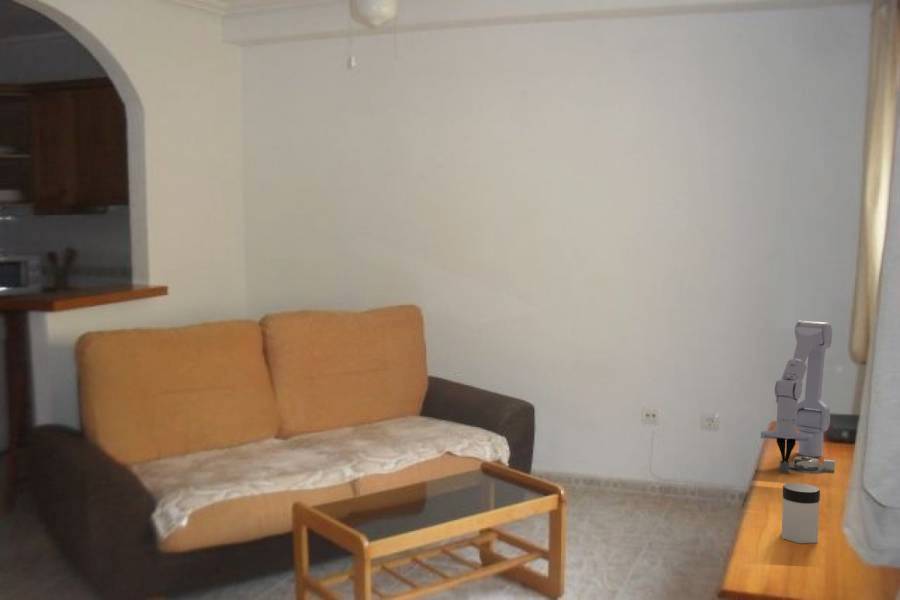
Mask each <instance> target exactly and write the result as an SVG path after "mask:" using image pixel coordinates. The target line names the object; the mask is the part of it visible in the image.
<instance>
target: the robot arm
mask: <svg viewBox="0 0 900 600" xmlns="http://www.w3.org/2000/svg"><path fill="white" fill-rule="evenodd" d="M794 335H795V340H796V345H795V349H794V353H793V357H792V358H791V359H789V360H788V361H787V363H786V366H785V368H784V370H783V373H782V375H781V378H780V379H778V380H776V382H775V384H774V385H775V386H774V395H775V403H776V404H777V411H776V429H775V430H774V431H773V430H771V431H770V430H769V431H767V430H761V431H760V439H772V440H776V444H777V446H778V449H779V451H780V455H781V461H789V460H790V456H791V453H792V451H793V450H794V448H795V445H796V442H798V451H796V454H799V455H801V456H807V457H811V458H817V457H823V455H824V453H823V451H824V450H823V449H824V448H823V447H824V432H826V431H827V430H828V429H829V428H830V424H831V415H830V413H831V412H830V407H829V406H828V405H827V404H826V403H825V402H824V401H823V400H822V391H823V379H824V377H823V376H824V365H825V357H826V356H825V354H826V350H827V349H829V348H831V345H832V339H833V338H832V337H833V328H832V325H831V324H830V322H828V321H825V322H823V321H809V320H800V319H799V320H798V321H796V324H795V327H794ZM806 361H807V364H806ZM805 374H806V379H805V390H804V399H803V400H801V401H800V402H799V399H800V398H801V395H802V392H803V391H802V389H803V380H804V376H805ZM798 430H799V431H798ZM797 431H798V432H797Z"/></svg>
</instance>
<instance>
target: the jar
mask: <svg viewBox="0 0 900 600" xmlns="http://www.w3.org/2000/svg"><path fill="white" fill-rule="evenodd" d="M820 497H821V489H820V488H819V487H817V486H815V485H811V484H807V483H799V482H793V483H792V482H790V483H785V484H783V486H782V515H781V516H782V517H781V539H783V540H786V541H788V542H789V541H790V542H793V543H796V544H817V543H818V542H819V541H818V539H819V520H820V519H819V517H820V515H819V514H820Z"/></svg>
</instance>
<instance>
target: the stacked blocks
mask: <svg viewBox="0 0 900 600" xmlns="http://www.w3.org/2000/svg"><path fill="white" fill-rule="evenodd" d="M779 462H780V463H779V468H780V474H788V475H789V470H788V469H789V463H790V461H789V460H788V461H783V460H780V461H779Z"/></svg>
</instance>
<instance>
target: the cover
mask: <svg viewBox="0 0 900 600" xmlns="http://www.w3.org/2000/svg"><path fill="white" fill-rule="evenodd" d="M793 462H794V468H796V469H799V470H805V471H816V470H818V469H819V465H820V460H819V459H817V458H816V457H812V456H805V455H801V456H795V457H793Z"/></svg>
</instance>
